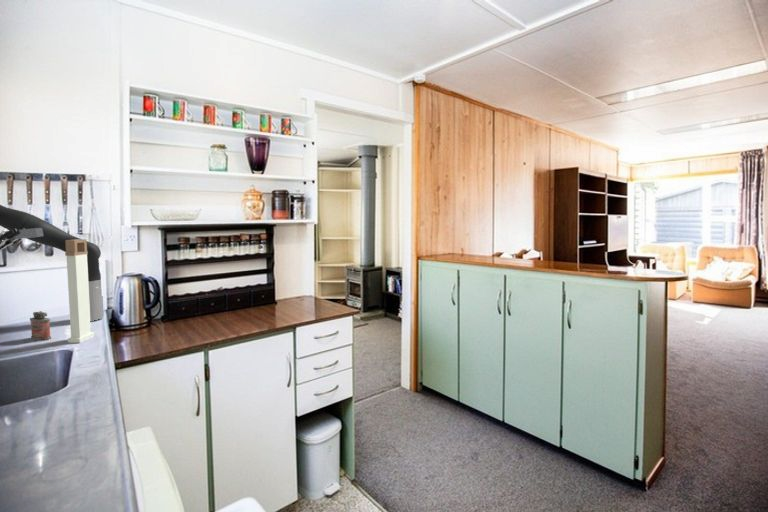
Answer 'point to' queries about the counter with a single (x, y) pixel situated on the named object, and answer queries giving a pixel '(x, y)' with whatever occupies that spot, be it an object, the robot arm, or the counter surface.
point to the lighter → (40, 326)
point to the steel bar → (28, 233)
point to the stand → (78, 290)
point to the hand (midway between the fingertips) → (20, 230)
